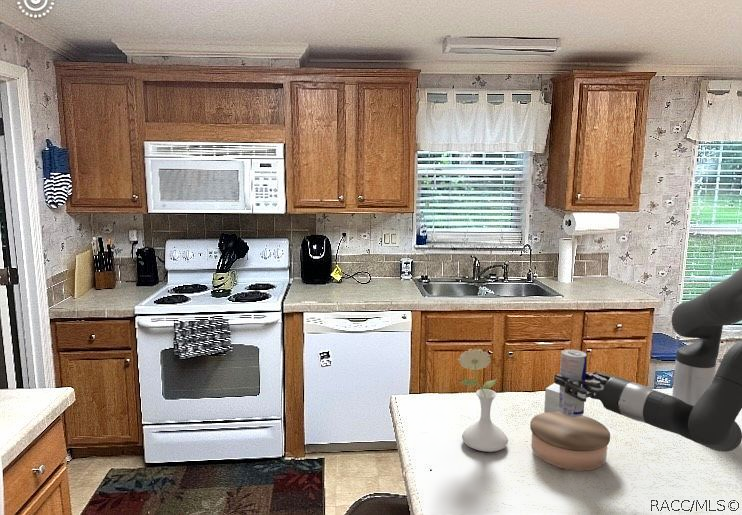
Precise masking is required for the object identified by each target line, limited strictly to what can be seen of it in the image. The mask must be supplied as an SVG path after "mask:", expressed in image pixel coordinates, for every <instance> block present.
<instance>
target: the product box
mask: <svg viewBox="0 0 742 515" xmlns="http://www.w3.org/2000/svg"><path fill="white" fill-rule="evenodd" d="M559 392H560V385H558V384H555V383H552V384H550V385H548V387H546V388H545V394H544V408H543V413H545V412H553V411H559Z"/></svg>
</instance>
